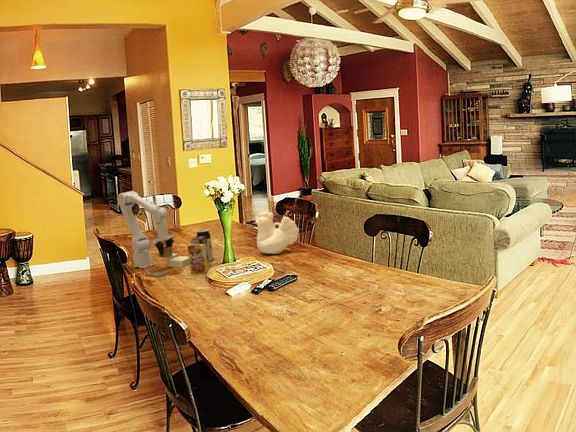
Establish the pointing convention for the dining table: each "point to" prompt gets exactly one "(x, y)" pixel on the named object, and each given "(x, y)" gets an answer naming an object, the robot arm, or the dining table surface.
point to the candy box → (197, 258)
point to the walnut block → (166, 252)
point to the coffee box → (201, 241)
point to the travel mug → (206, 233)
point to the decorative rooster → (275, 233)
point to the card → (157, 274)
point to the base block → (179, 261)
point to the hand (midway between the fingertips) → (165, 253)
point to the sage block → (172, 257)
